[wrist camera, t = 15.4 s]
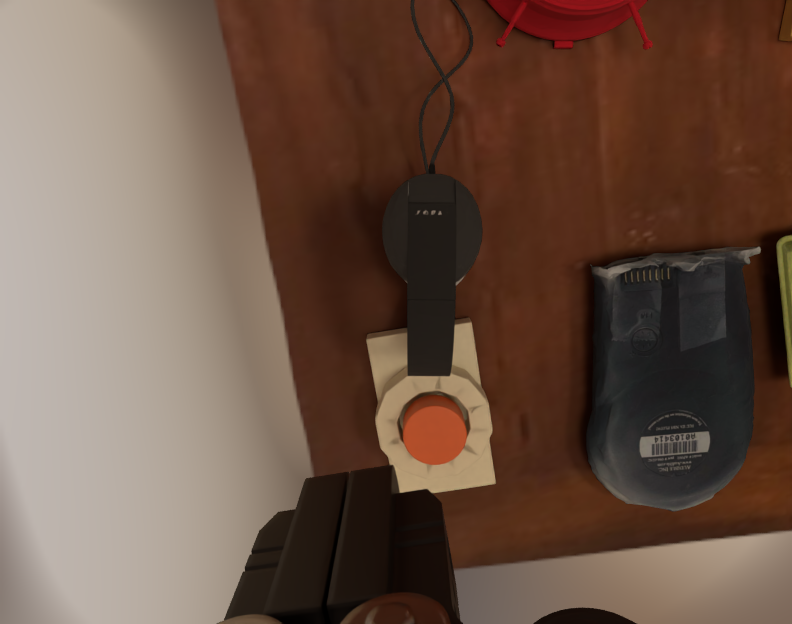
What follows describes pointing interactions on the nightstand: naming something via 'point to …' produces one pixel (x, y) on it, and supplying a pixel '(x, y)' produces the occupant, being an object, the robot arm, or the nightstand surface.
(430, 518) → the robot arm
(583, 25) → the alarm clock
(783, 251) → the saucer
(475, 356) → the control block
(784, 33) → the bracket
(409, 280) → the headphones
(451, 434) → the button
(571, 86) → the nightstand surface
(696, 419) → the electronic device
